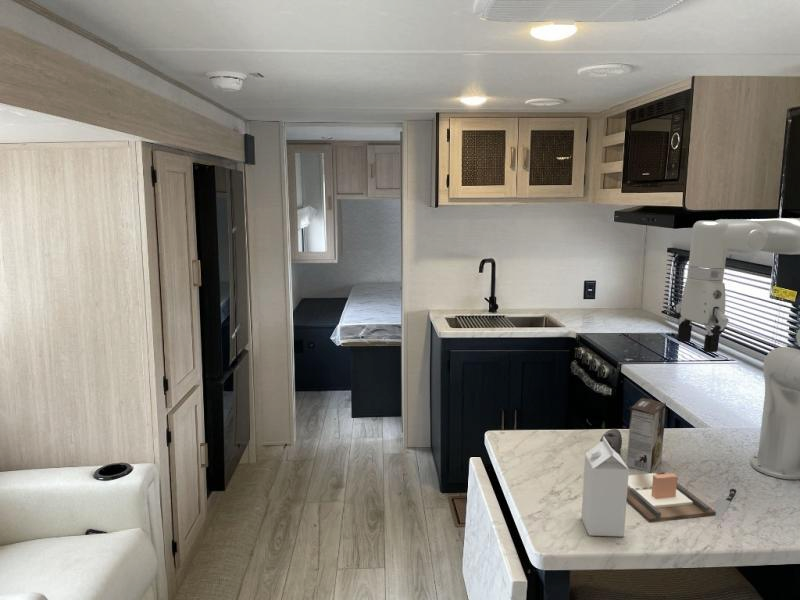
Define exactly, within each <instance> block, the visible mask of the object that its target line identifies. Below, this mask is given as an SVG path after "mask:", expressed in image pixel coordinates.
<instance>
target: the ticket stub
mask: <svg viewBox="0 0 800 600" xmlns="http://www.w3.org/2000/svg"><path fill="white" fill-rule="evenodd" d="M677 483H678V476H677V475H676V474H675V473H673V472H672V473H671V472H670V473H665V474H660V475H653V483H652V489H647V490H637V492H638V493H639V494H640V495H641V496H643V497H644V498H645V499H646V500H647V501H648V502H649V503H651V504H652V505H653V506H654V507H655V508H662V507H672V506H681V505H691V504H693V501H691V500H690V499H689V498H687V497H686V496H685V495H684V494H682V493H681V492H680V491H678V490H677V489H676V486H677Z"/></svg>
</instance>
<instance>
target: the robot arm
mask: <svg viewBox="0 0 800 600" xmlns="http://www.w3.org/2000/svg"><path fill="white" fill-rule="evenodd" d="M757 252H765V253H771V254H776V255H777V254H779V255H780V254H781V255H800V217H798V218H797V217H796V218H794V217H790V218H789V217H787V218H785V217H782V218H759V219H758V218H755V219H754V218H751V219H749V218H747V219H743V218H740V219H738V218H736V219H735V218H734V219H733V218H731V219H730V218H729V219H728V218H725V219H723V218H720V219H716V220H697V221H696V222H695V223H693V225H692V233H691V241H690V249H689V258H688V265H687V266H688V267H687V275H686V280H685V283H684V288H683V291H682V296H681V302H679V303H677V304H676V305H675V310H676V318H677V325H678V329H677V338H676V339H677V342H681V343H682V342H683V343H684V342H687V343H689V342H690V341H691V339H692V330H693V325H692V323H696V324H697V325H702V326H704V327H705V330H706V332H707V334H705V336H704V342H703V343H704V344H703V352H704V353H717V352H718V349H719V342H720V336H722V334H723V332H725V330H726V327H727V325H728V323H729V321H730V320H729V318H728V317H727V315H726V314H725V313H726V312H725V311H726V286H725V285H726V284H725V283H724V282H723V281H724V275H725V274H724V273H725V267H726V258H727V253H733V254H739V255H752V254H755V253H757ZM712 327H713V328H712ZM795 338H796V342H797V344H798V345H799V346H800V328H799V329H798V331H797V333H796V337H795ZM762 367H763V368H762V369H763V378H764V388H765V389H764V399H763V400H764V401H763V410H762V417H761V426H760V433H759V441H758V442H759V444H758V450H757V454H754V455H752V456H751V457H750V459H749V464H750V466H751V467H752V468H754V470H756V471H758V472H760V473H762V474H763V475H764V474H765V475H767V476H770V477H773V478H778V479H784V480H793V481H794V480H800V349H798V348H794V347H789V346H788V347H787V346H780V347H775V348H774V349H772V350H770V351H769V352H768V353H767V355H766V356H765V358H764V361H763V366H762Z"/></svg>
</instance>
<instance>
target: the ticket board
mask: <svg viewBox="0 0 800 600" xmlns="http://www.w3.org/2000/svg"><path fill="white" fill-rule="evenodd" d="M660 474H666V472H653V473H652V472H651V473H650V472H649V473H642V474H630V475H628V488H627V501H626V503H628V504H629V505H630V507H632V508H633V509H634V510H635V511H636V512H638V513H639V514H640V515H641V516H642V517H643V518H644V519H645V520H646V521H648V523H656V522H664V521H665V522H666V521H675V520H683V519H692V518H701V517H703V518H704V517H710V516H715V515H716V511H714V510H713V509H714V508H712V507H710V505H708V504H706V502H704V501H703V500H701V499H699V498H698V497H697V496H696V495H695V494H694V493H692V492H691V491H689V490H688V489H687V488H685V487H684V486H683V485H681V484H680V483H679V482H677V486H676V489H677V490H678V491H680V492H681V493H682V494H684V495H685V496H686V497H687V498H689V499H690V500H691V501H693V504H691V505H681V506H672V507H662V508H655V507H654V506H653V505H652V504H651V503H649V502H648V501H647V500H646V499H645V498H644V497H643V496H641V495H640V494H639V493H638V492H637V490H647V489H652V483H653V475H660Z"/></svg>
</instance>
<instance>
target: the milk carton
mask: <svg viewBox="0 0 800 600" xmlns="http://www.w3.org/2000/svg"><path fill="white" fill-rule="evenodd" d="M602 436H603V435H602ZM629 471H630V469H629V466H627V463H625V461H624V460H623V459H622V457H621V455H620V453H619V454H618V453H617V452H615V451H614V450H613V449H612V448H611V447H610V445H609V444H608V442H607V441H606V439H605V437H604V436H603V441H602V442H601V441H600V442H599V443H598V444H596V445H595V446H594V447H592V448H591V449H590V450H588V451H586V453H585V455H584V471H583V485H582V488H583V489H582V502H581V517H580V518H581V520H582V523H583V524H584V525H583V526H584V527H585V530H586V531H587V534H588V536H594V537H595V536H598V537H599V536H600V537H624V536H625V527H626V526H625V524H626V515H627V513H626V512H627V511H626V510H627V488H628V475H629V474H630V473H629Z"/></svg>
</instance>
